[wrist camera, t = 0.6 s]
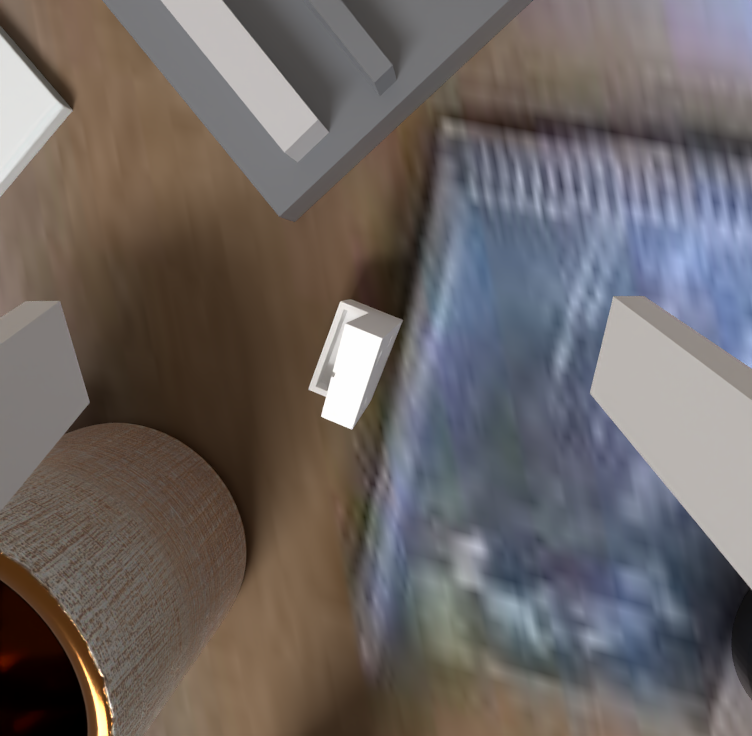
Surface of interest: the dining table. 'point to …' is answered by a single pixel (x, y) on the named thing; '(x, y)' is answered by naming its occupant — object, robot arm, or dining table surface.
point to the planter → (111, 581)
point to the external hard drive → (24, 111)
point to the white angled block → (353, 360)
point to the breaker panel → (307, 75)
